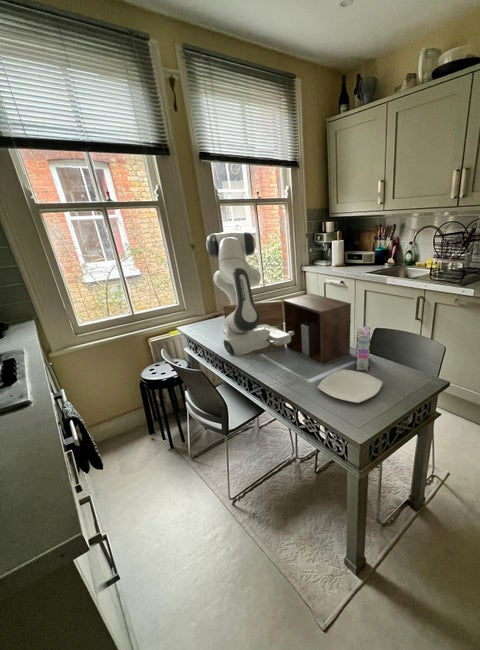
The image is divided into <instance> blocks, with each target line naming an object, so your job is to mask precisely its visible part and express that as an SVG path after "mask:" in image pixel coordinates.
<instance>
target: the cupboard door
mask: <svg viewBox="0 0 480 650" xmlns="http://www.w3.org/2000/svg"><path fill="white" fill-rule="evenodd" d="M254 305H255V307H256V309H257V311H258V314H259V323H258V325H263V324H267V325H269V326H281V327H282V330H281V331H284V324H285V322H284V308H283V300H271V301H270V300H269V301H259V302H254ZM236 307H237V304H234V305H231V304H224V305H222V309H223V315H224V320H225V319H226V317H227V316H228V315H229V314H231V313H232V312H234V311H235V310H236ZM258 325H257V326H258ZM285 348H286V344H283V345H274V344H272V343H270V344H269V346H267V347H264V348H261V349H258V350H253V351H251V352H249V353H248V354H255V353H259V352H260V351H267V350H278V349H279V350H280V349H285ZM229 355H230V356H232V355H231V354H229Z"/></svg>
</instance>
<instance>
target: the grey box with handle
mask: <svg viewBox="0 0 480 650" xmlns="http://www.w3.org/2000/svg"><path fill="white" fill-rule="evenodd" d="M301 337H302V353H304V354H306V355H308V356H310V355H313V354H316V353H318V352H321V336H320V322H319V321H317V318H314V319H310V320H307V321H306V323H304V324H301Z"/></svg>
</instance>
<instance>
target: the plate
mask: <svg viewBox="0 0 480 650" xmlns="http://www.w3.org/2000/svg"><path fill="white" fill-rule="evenodd" d="M383 383H384V382H383V381H382V380H380V379H379V378H376V377H374V376H373V375H370V374H367V373H365V372H362V371H358V370H351V369H344V368H343V369H341V370H340V369H339V370H338V371H335V372H333V373H330V374H328V375H326V376H325V377H324V378H323V379H322V380H321V381H320V382H319V384H318V386H317V389H318V390H320V391H322V393H324V394H326V395H328V396H330V397H332V398H334V399H337V400H341V401H345V402H349V403H355V404H360V403H362V402H365V401H367V400H370V399H371V398H373V397H374V396H376V395H377V394H378V393H379V391H380V390H381V388H382V386H383Z"/></svg>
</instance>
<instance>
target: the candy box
mask: <svg viewBox="0 0 480 650" xmlns="http://www.w3.org/2000/svg"><path fill="white" fill-rule="evenodd" d="M355 346H356V347H355V349H356V350H355V355H356V356H355V371H358V372H369V371H370V370H369V369H370V351H371V350H370V349H371V326H361V325H360V326H359V325H358V326H357V333H356V345H355Z"/></svg>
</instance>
